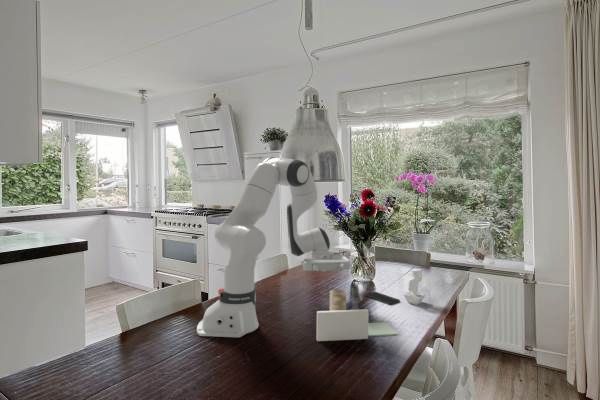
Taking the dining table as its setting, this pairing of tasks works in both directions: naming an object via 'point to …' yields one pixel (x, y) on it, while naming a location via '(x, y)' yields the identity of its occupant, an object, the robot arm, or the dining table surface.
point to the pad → (380, 329)
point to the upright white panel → (342, 325)
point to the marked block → (337, 300)
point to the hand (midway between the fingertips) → (330, 269)
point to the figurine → (414, 288)
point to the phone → (382, 298)
